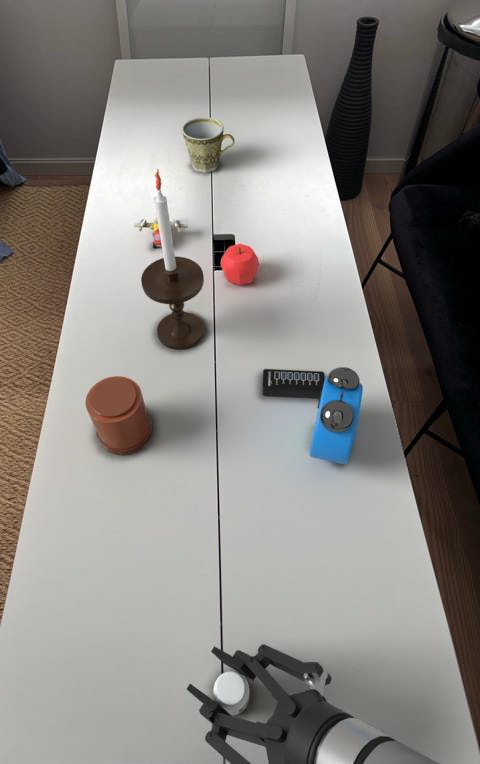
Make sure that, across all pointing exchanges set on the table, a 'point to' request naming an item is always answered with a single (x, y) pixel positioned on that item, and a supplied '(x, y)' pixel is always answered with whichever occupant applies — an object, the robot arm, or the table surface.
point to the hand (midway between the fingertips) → (207, 673)
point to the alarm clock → (337, 416)
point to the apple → (239, 264)
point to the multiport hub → (292, 383)
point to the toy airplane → (155, 226)
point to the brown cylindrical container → (119, 415)
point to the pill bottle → (231, 692)
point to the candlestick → (173, 285)
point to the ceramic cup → (204, 142)
